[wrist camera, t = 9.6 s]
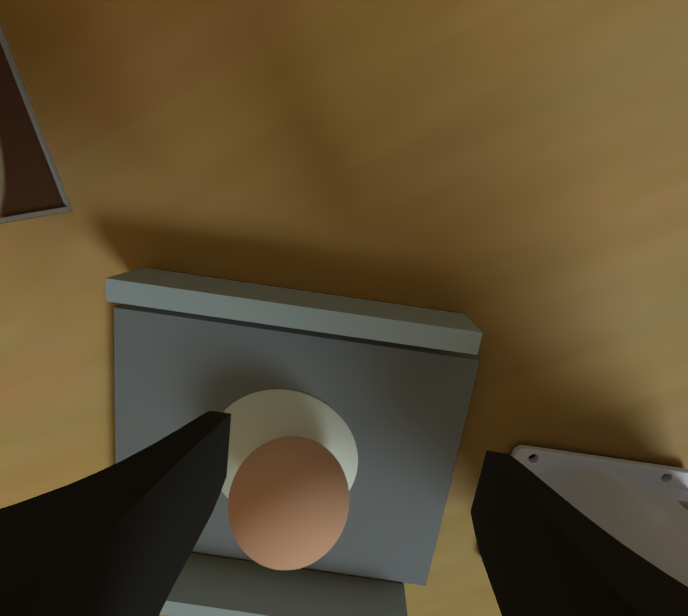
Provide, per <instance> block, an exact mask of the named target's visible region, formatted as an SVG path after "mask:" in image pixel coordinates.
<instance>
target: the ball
mask: <svg viewBox="0 0 688 616" xmlns="http://www.w3.org/2000/svg"><path fill="white" fill-rule="evenodd" d="M348 511H349V488H348V483H347V479H346V476H345V473H344V471H343V469H342V467H341V465H340V463H339V462H338V460H337V459H336V458H335V456H334V455H333V454H332V453H331V452H330V451H329V450H328V449H327V448H325V447H324V446H323V445H321V444H320V443H318V442H316V441H313V440H311V439H308V438H304V437H298V436H287V437H280V438H276V439H273V440H271V441H268V442H266V443H264V444H263V445H261V446H259V447H258V448H256V449H255V450H254V451H253V452H252V453H250V455H249V456H248V457H247V458H246V459H245V460H244V461H243V463H242V464H241V465H240V467H239V469H238V470H237V472H236V474H235V476H234V479H233V481H232V484H231V487H230V492H229V496H228V517H229V523H230V527H231V530H232V533H233V535H234V537H235V539H236V541H237V543H238V545H239V546H240V548H241V549H242V550H243V551H244V552H245V554H246V555H248V556H249V557H250V558H251V559H252V560H254V561H255V562H257V563H258V564H260V565H262V566H265V567H267V568H271V569H275V570H295V569H300V568H303V567H306V566H308V565H310V564H312V563H314V562H316V561H317V560H319V559H320V558H321V557H323V556H324V555H325V554H326V553H327V552H328V551H329V550H330V549H331V548H332V547H333V545H334V544H335V543H336V541H337V540H338V538H339V537H340V535H341V533H342V531H343V528H344V526H345V523H346V520H347V516H348Z"/></svg>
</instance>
